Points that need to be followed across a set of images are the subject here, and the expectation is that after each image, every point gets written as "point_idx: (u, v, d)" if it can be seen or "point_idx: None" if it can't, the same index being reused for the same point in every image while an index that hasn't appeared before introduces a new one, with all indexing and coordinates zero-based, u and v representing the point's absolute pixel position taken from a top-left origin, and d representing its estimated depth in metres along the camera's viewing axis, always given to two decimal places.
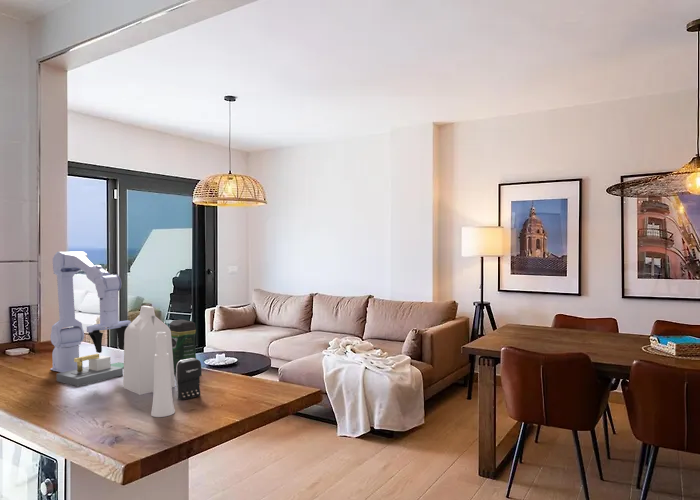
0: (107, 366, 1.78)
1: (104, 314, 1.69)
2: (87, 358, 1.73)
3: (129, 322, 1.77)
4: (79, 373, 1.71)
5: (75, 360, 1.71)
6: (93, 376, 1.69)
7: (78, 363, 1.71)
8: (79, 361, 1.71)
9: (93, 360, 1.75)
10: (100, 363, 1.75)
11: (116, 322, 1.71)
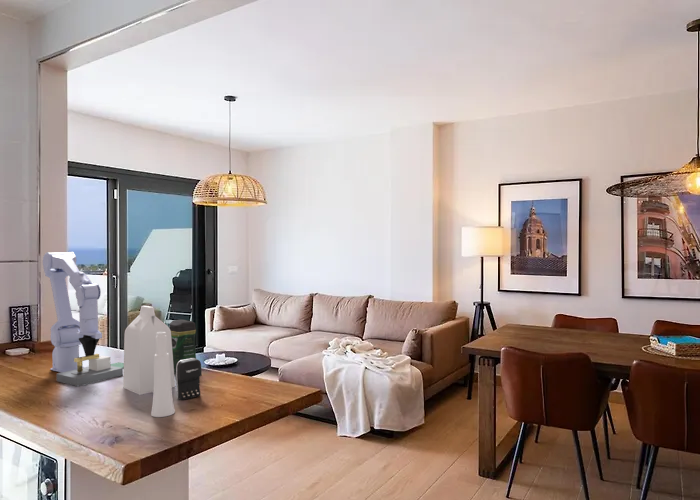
0: (107, 366, 1.78)
1: None
2: (87, 358, 1.73)
3: (95, 334, 1.71)
4: (79, 373, 1.71)
5: (75, 360, 1.71)
6: (93, 376, 1.69)
7: (78, 363, 1.71)
8: (79, 361, 1.71)
9: (93, 360, 1.75)
10: (100, 363, 1.75)
11: (82, 331, 1.74)
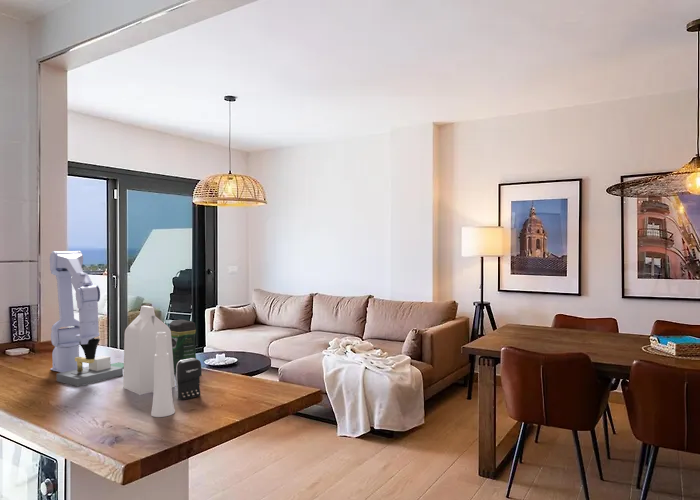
0: (107, 366, 1.78)
1: None
2: (82, 360, 1.70)
3: None
4: (79, 373, 1.71)
5: None
6: (93, 376, 1.69)
7: None
8: None
9: None
10: (100, 363, 1.75)
11: (80, 334, 1.69)
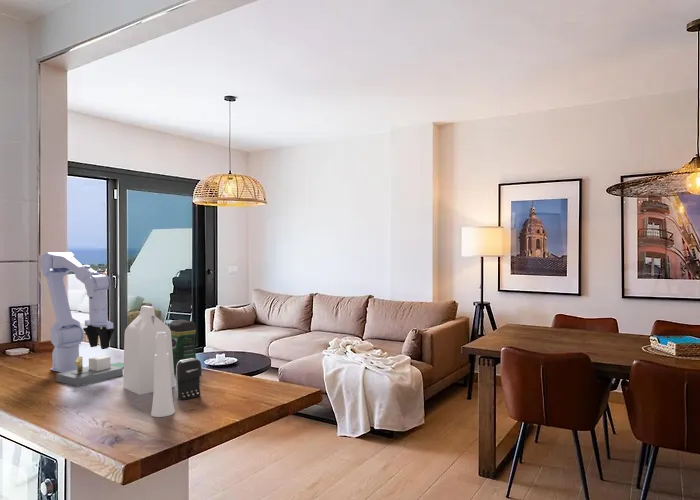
0: (107, 366, 1.78)
1: None
2: None
3: (106, 324, 1.73)
4: (79, 373, 1.71)
5: None
6: (93, 376, 1.69)
7: None
8: None
9: (93, 360, 1.75)
10: (100, 363, 1.75)
11: (93, 321, 1.75)
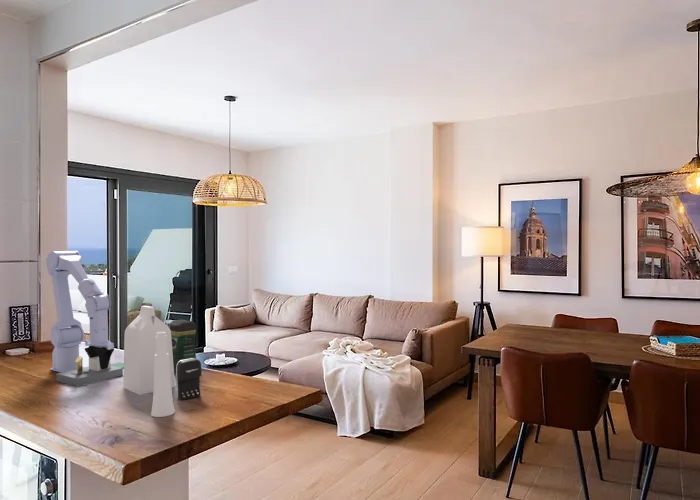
0: None
1: None
2: None
3: (107, 345, 1.73)
4: (79, 373, 1.71)
5: None
6: (93, 376, 1.69)
7: None
8: None
9: (93, 360, 1.75)
10: None
11: (93, 342, 1.75)
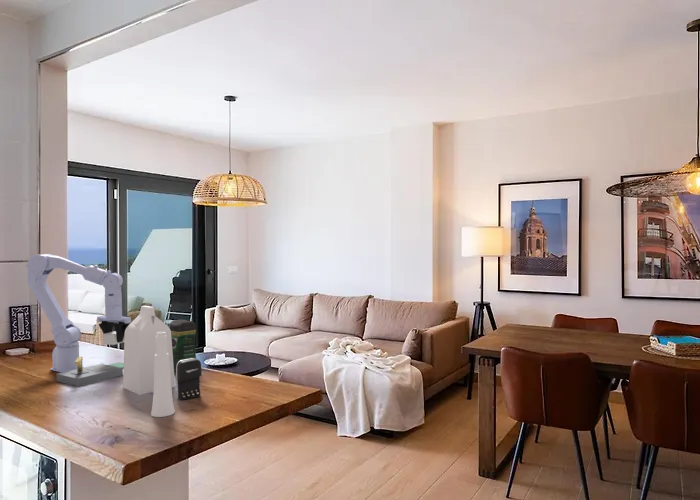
0: None
1: None
2: None
3: (125, 319, 1.86)
4: (79, 373, 1.71)
5: None
6: (93, 376, 1.69)
7: None
8: None
9: (109, 335, 1.87)
10: (116, 337, 1.88)
11: (110, 317, 1.87)
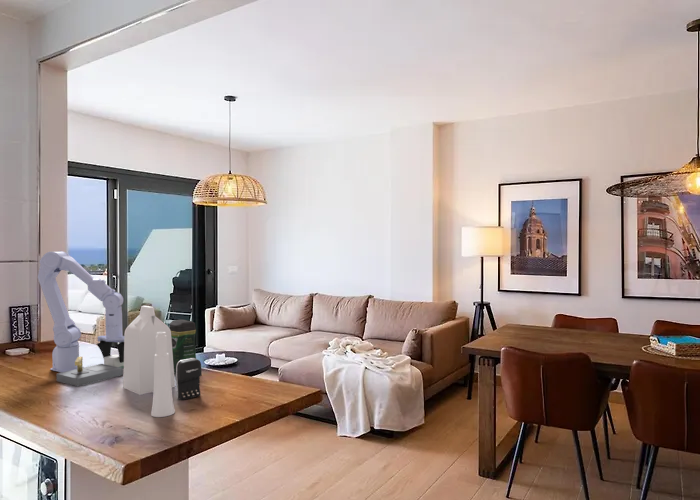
0: (122, 364, 1.90)
1: None
2: None
3: None
4: (79, 373, 1.71)
5: None
6: (93, 376, 1.69)
7: None
8: None
9: (110, 358, 1.87)
10: (116, 361, 1.88)
11: (110, 337, 1.87)
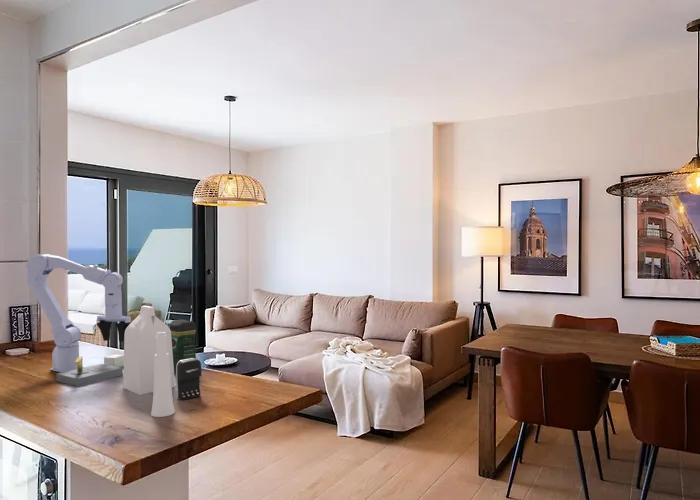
0: (122, 364, 1.90)
1: None
2: None
3: (125, 318, 1.86)
4: (79, 373, 1.71)
5: None
6: (93, 376, 1.69)
7: None
8: None
9: (110, 358, 1.87)
10: (116, 361, 1.88)
11: (110, 316, 1.87)
